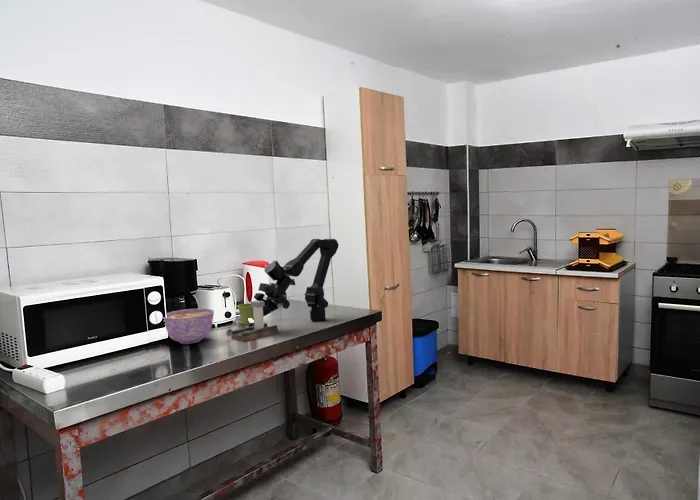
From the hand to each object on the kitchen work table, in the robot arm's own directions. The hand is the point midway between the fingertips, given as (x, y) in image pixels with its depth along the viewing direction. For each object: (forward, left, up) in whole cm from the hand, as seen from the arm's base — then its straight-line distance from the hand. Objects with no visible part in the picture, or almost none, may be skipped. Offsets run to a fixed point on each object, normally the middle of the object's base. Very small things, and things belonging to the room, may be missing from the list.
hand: (260, 316), depth 212 cm
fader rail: (+3, +2, -7) cm, 8 cm away
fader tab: (+1, +1, -5) cm, 5 cm away
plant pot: (+6, -24, -8) cm, 26 cm away
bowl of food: (+29, +2, -8) cm, 30 cm away
